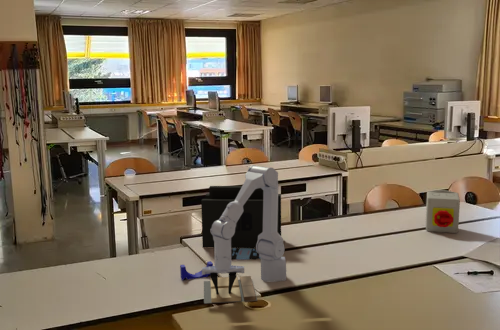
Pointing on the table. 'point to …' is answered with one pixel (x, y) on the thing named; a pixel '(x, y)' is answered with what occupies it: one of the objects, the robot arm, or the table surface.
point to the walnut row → (247, 288)
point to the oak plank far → (224, 283)
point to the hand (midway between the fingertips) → (223, 293)
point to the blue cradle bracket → (193, 276)
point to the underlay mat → (208, 293)
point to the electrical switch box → (442, 211)
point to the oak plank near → (225, 295)
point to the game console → (245, 226)
